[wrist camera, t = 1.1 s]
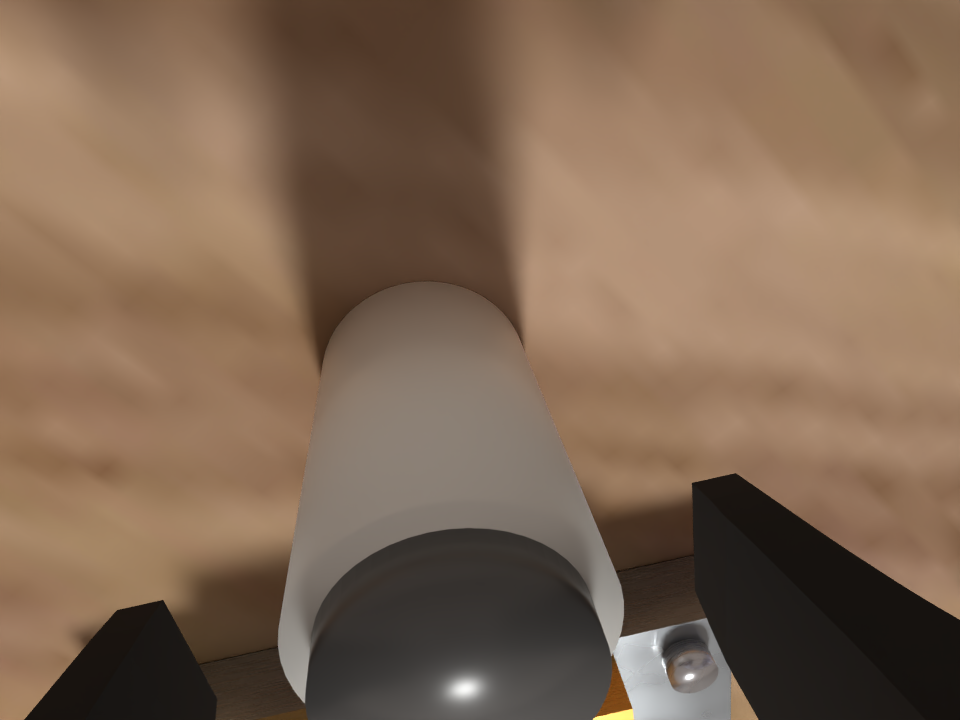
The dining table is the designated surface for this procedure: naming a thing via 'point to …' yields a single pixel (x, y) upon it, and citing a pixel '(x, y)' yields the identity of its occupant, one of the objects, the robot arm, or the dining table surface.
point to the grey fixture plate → (635, 661)
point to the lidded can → (442, 529)
